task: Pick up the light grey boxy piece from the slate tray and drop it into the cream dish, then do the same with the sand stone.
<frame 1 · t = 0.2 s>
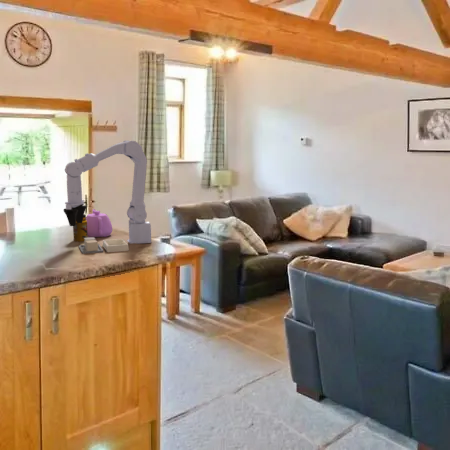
hand: (76, 224, 214), 10 cm above the table, tool pointing down, fingers open, 7 cm apart
condiment: (78, 242, 228), on the table
slate tray: (90, 250, 210), on the table
cream dish: (115, 249, 212), on the table
light grey boxy piece: (90, 248, 212), resting on slate tray
sand stone: (92, 251, 206), resting on slate tray
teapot: (97, 236, 242), on the table
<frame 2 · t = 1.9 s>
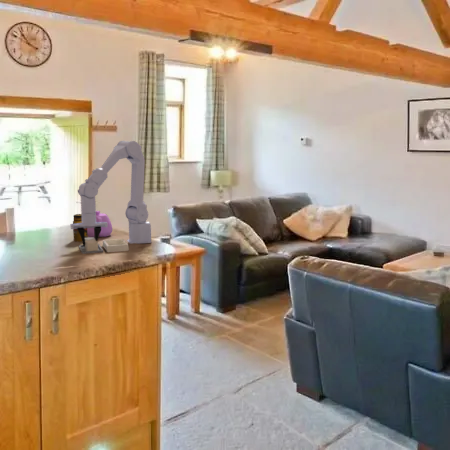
hand: (89, 245, 212), 2 cm above the table, tool pointing down, fingers closed on light grey boxy piece, 4 cm apart
light grey boxy piece: (90, 248, 212), resting on slate tray, touching gripper
everything else where it was.
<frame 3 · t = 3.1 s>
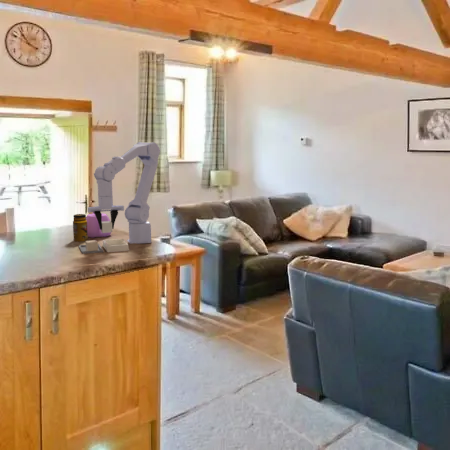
hand: (106, 228, 213), 8 cm above the table, tool pointing down, fingers closed on light grey boxy piece, 4 cm apart
light grey boxy piece: (106, 231, 213), point 7 cm above the table, touching gripper
everything else where it was.
when the fingers open (4 cm above the table, at t = 4.6 s): light grey boxy piece drops 2 cm, resting on cream dish.
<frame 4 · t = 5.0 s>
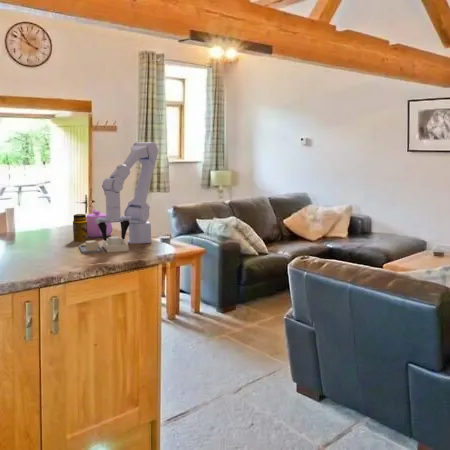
hand: (114, 239, 214), 4 cm above the table, tool pointing down, fingers open, 7 cm apart
light grey boxy piece: (114, 247, 214), resting on cream dish
everything else where it was.
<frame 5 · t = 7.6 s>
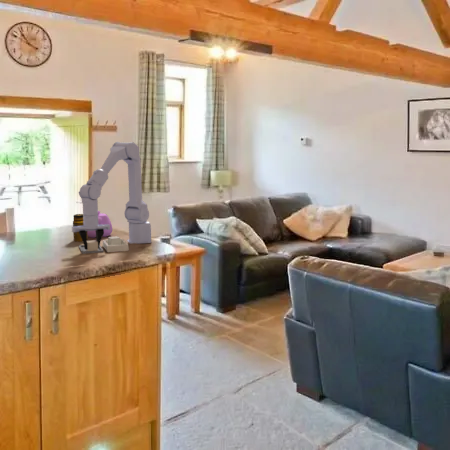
hand: (91, 248, 206), 2 cm above the table, tool pointing down, fingers closed on sand stone, 4 cm apart
sand stone: (92, 251, 206), resting on slate tray, touching gripper
everything else where it was.
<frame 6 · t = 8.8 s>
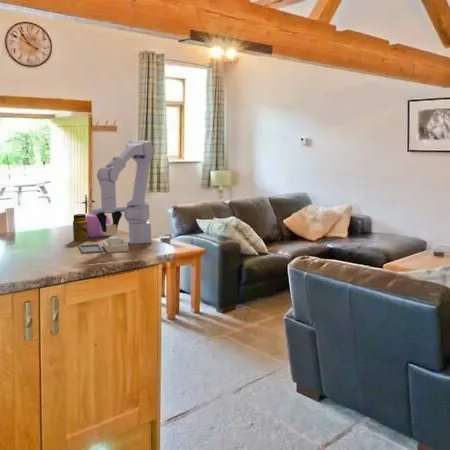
hand: (109, 230, 208), 8 cm above the table, tool pointing down, fingers closed on sand stone, 4 cm apart
sand stone: (109, 234, 208), point 7 cm above the table, touching gripper
everything else where it was.
when the fingers open (4 cm above the table, at t = 10.3 s): sand stone drops 2 cm, resting on cream dish.
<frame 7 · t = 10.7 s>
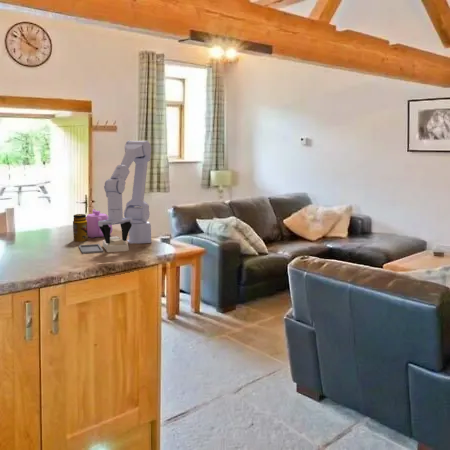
hand: (116, 241, 209), 4 cm above the table, tool pointing down, fingers open, 7 cm apart
sand stone: (116, 249, 210), resting on cream dish
everything else where it was.
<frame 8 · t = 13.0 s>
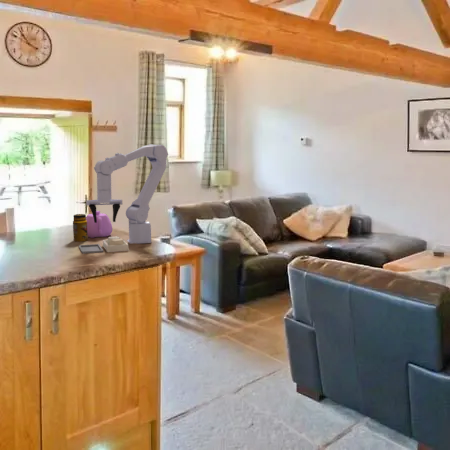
hand: (104, 222, 216), 10 cm above the table, tool pointing down, fingers open, 7 cm apart
nothing on the table moved.
at the end: light grey boxy piece inside the target area on the cream dish (2.5 cm from its centre), point 0.5 cm above the cream dish's base; sand stone inside the target area on the cream dish (2.6 cm from its centre), point 0.5 cm above the cream dish's base; the gripper is holding nothing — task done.
